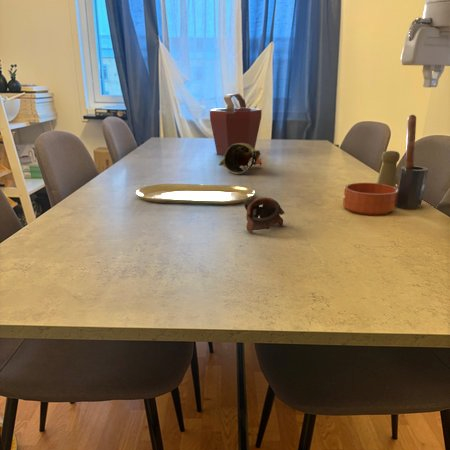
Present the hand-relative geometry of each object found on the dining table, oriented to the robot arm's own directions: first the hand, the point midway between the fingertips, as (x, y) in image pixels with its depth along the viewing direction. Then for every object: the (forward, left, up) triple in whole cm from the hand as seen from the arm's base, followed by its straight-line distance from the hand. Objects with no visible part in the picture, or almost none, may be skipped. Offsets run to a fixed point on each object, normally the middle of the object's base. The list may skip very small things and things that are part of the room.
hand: (429, 87), depth 104 cm
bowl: (+11, +3, -29) cm, 31 cm away
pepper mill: (-2, -22, -29) cm, 37 cm away
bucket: (+45, -91, -29) cm, 106 cm away
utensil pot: (0, 0, -29) cm, 29 cm away
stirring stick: (0, 0, -28) cm, 28 cm away
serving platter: (+58, -11, -29) cm, 66 cm away
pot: (+42, -47, -29) cm, 70 cm away
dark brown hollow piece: (+41, +19, -29) cm, 54 cm away
